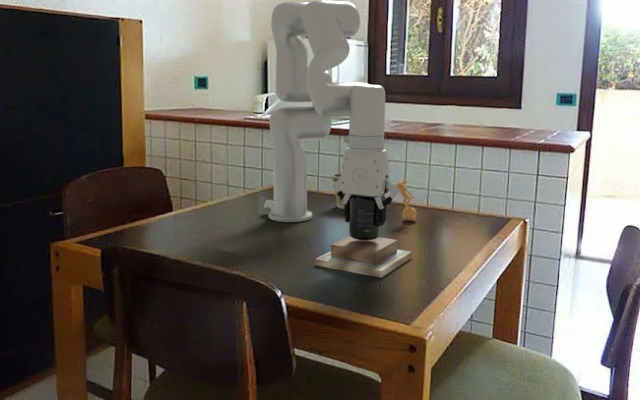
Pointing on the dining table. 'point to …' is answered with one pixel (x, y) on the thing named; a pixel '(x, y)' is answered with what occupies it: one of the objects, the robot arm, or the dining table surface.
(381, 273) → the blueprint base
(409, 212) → the figurine
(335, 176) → the ceramic cup
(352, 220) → the supplement bottle
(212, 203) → the dining table surface
